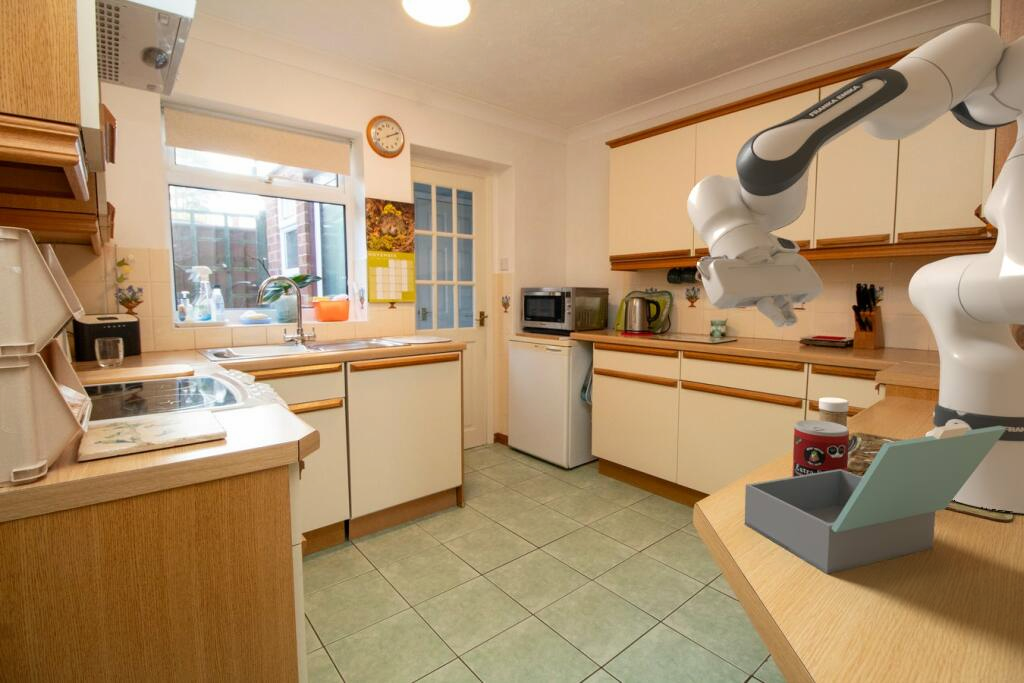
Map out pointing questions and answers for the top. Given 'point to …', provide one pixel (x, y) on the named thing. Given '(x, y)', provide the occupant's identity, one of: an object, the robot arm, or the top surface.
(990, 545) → the top surface
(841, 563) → the box
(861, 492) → the mailer lid
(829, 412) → the sprinkles bottle
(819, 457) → the canned food
